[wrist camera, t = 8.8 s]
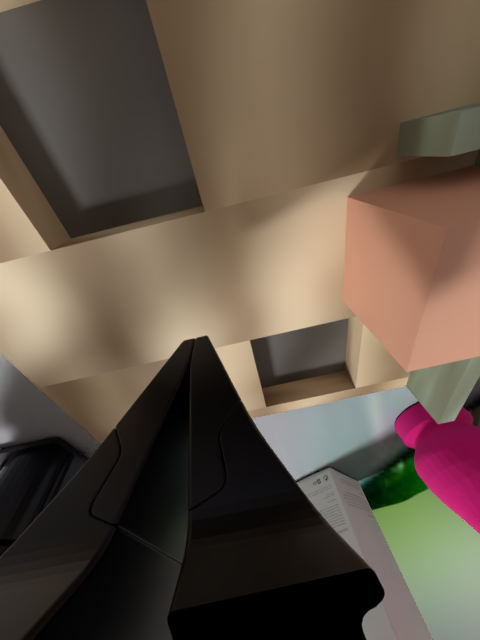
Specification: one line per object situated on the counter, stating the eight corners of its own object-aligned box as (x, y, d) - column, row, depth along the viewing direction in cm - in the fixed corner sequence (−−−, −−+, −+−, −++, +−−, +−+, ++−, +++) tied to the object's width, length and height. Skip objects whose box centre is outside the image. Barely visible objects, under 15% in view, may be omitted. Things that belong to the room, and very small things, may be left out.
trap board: (114, 424, 20) (89, 494, 16) (-254, 37, 7) (-861, -116, 3) (401, 363, 19) (454, 420, 15) (557, -216, 6) (1234, -941, 2)
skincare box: (287, 484, 30) (342, 722, 18) (332, 463, 28) (431, 718, 15) (321, 497, 34) (385, 700, 22) (362, 480, 32) (461, 695, 19)
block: (342, 300, 12) (406, 371, 8) (347, 197, 10) (447, 228, 5) (439, 278, 12) (553, 340, 8) (473, 165, 9) (676, 172, 5)
